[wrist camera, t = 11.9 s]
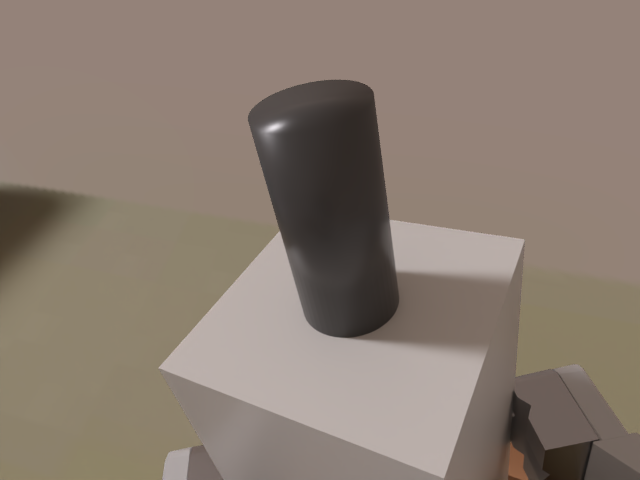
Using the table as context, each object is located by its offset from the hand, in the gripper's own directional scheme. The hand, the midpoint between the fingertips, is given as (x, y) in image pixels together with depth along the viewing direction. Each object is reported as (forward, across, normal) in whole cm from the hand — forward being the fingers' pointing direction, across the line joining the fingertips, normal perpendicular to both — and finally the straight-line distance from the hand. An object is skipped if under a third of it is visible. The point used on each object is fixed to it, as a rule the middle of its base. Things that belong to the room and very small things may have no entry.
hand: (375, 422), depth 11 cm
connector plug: (-1, 0, -6) cm, 7 cm away
